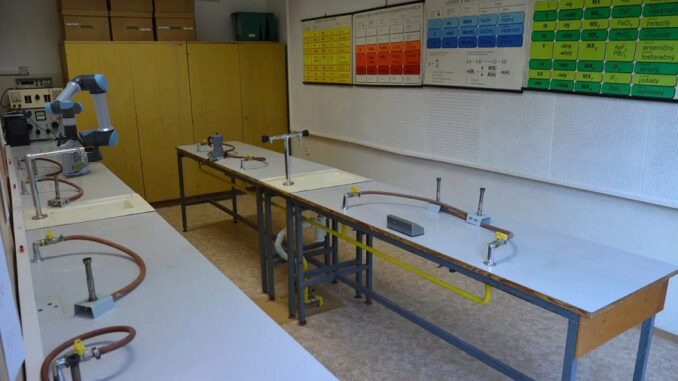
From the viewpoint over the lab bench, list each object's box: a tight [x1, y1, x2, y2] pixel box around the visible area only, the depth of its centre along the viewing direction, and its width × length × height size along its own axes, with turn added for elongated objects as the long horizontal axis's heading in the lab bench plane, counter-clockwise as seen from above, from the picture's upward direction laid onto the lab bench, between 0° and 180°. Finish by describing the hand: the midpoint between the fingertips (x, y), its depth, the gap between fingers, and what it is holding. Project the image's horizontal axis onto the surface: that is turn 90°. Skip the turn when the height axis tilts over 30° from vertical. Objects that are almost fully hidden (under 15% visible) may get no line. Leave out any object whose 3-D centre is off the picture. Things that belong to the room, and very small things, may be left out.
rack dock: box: [63, 165, 91, 177], centre depth 330 cm, size 10×13×4 cm
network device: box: [59, 139, 89, 175], centre depth 327 cm, size 26×9×20 cm, turn 1°
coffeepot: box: [206, 132, 225, 157], centre depth 387 cm, size 15×9×18 cm, turn 138°
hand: (74, 156), depth 327 cm, fingers open, 13 cm apart
